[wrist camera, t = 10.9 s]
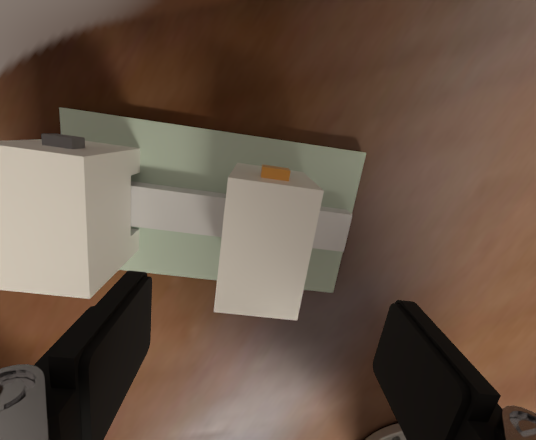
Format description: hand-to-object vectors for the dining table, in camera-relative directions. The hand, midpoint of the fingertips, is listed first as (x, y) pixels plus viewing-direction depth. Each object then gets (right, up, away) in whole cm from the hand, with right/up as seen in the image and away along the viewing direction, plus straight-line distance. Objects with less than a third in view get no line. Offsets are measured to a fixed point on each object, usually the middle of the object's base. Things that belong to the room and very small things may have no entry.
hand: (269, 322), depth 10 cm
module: (0, +4, +12) cm, 13 cm away
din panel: (-4, +5, +13) cm, 15 cm away
